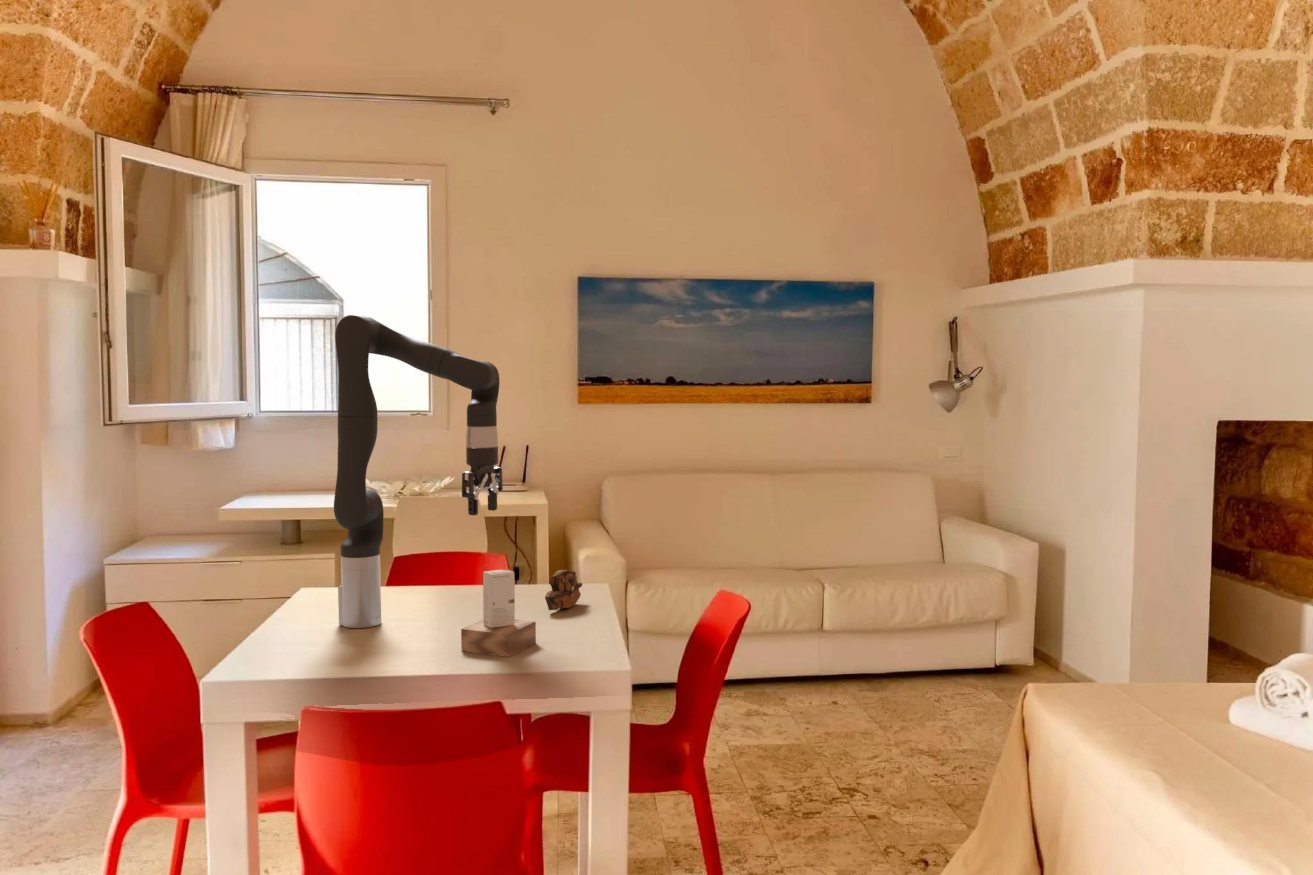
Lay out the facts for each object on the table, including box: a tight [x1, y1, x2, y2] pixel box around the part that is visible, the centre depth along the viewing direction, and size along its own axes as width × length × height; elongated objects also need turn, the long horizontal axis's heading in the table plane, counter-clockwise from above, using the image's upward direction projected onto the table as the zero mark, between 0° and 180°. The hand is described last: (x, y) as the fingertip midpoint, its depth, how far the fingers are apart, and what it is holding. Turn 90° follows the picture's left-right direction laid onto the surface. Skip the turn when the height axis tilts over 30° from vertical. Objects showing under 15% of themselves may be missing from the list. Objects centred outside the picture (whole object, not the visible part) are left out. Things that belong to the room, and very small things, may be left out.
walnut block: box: [460, 618, 537, 657], centre depth 225 cm, size 12×12×5 cm
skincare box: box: [482, 569, 516, 628], centre depth 225 cm, size 6×4×12 cm
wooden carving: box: [544, 569, 583, 611], centre depth 262 cm, size 16×5×10 cm, turn 161°
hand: (483, 512), depth 240 cm, fingers open, 8 cm apart
